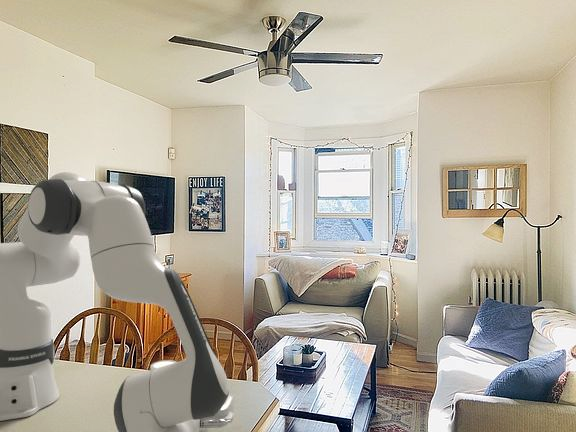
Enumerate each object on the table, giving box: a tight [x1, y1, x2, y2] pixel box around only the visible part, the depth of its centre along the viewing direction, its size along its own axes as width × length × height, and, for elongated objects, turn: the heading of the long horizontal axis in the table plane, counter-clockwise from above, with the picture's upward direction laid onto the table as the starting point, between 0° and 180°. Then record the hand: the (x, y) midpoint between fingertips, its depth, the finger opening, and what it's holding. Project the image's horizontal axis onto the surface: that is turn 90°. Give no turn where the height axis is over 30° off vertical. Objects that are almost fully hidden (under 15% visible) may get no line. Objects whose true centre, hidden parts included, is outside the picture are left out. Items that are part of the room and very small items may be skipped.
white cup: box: [149, 359, 177, 370], centre depth 111 cm, size 7×7×7 cm
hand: (189, 393), depth 95 cm, fingers open, 8 cm apart
